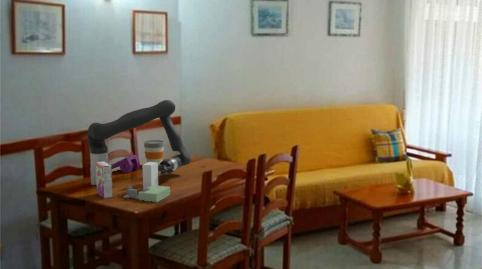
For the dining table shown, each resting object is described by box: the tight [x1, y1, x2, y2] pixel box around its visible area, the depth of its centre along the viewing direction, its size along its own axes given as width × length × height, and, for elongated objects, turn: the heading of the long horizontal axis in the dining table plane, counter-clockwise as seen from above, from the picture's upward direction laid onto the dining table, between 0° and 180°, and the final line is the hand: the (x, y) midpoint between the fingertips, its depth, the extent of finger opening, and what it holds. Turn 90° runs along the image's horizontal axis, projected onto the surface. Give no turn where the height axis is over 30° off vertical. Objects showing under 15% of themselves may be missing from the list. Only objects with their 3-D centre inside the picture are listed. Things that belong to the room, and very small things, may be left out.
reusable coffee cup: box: [143, 139, 165, 165], centre depth 338 cm, size 13×13×15 cm
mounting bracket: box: [110, 154, 141, 174], centre depth 326 cm, size 10×8×18 cm
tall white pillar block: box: [141, 162, 159, 190], centre depth 282 cm, size 7×5×14 cm
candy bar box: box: [95, 162, 114, 200], centre depth 271 cm, size 11×5×16 cm, turn 33°
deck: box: [122, 185, 171, 203], centre depth 270 cm, size 14×19×4 cm
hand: (154, 172), depth 285 cm, fingers open, 8 cm apart
